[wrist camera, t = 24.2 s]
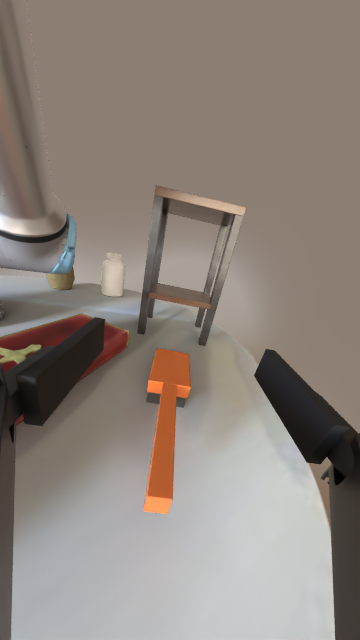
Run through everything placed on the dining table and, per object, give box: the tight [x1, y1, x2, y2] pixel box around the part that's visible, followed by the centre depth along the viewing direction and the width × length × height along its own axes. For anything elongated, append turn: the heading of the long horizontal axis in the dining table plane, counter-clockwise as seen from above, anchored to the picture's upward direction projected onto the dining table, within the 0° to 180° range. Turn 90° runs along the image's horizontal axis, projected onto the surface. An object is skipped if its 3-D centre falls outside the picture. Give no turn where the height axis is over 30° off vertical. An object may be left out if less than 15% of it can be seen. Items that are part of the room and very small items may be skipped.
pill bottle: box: [101, 253, 125, 297], centre depth 63 cm, size 8×8×15 cm
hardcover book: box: [0, 314, 129, 425], centre depth 25 cm, size 12×21×4 cm, turn 160°
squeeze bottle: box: [47, 267, 74, 290], centre depth 57 cm, size 8×8×18 cm
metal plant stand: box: [137, 186, 246, 346], centre depth 42 cm, size 13×17×32 cm
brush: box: [144, 348, 191, 514], centre depth 21 cm, size 19×6×4 cm, turn 179°
